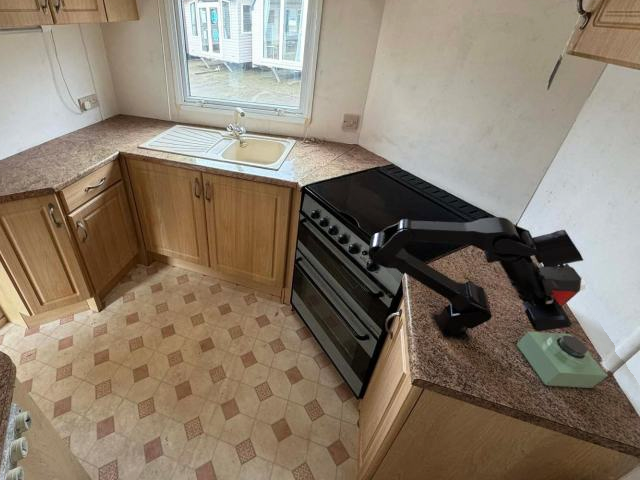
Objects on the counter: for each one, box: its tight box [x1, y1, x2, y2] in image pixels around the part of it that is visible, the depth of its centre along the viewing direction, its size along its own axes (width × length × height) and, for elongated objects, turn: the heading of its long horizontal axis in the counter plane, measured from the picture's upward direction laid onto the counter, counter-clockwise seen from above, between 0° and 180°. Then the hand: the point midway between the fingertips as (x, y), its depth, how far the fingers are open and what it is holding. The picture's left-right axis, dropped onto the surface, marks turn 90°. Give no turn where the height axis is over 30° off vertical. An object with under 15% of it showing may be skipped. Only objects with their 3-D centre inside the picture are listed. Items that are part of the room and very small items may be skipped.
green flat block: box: [515, 331, 609, 389], centre depth 74 cm, size 11×10×8 cm
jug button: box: [558, 335, 588, 358], centre depth 72 cm, size 4×4×2 cm
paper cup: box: [551, 276, 586, 307], centre depth 87 cm, size 8×8×14 cm
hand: (548, 318), depth 71 cm, fingers closed
